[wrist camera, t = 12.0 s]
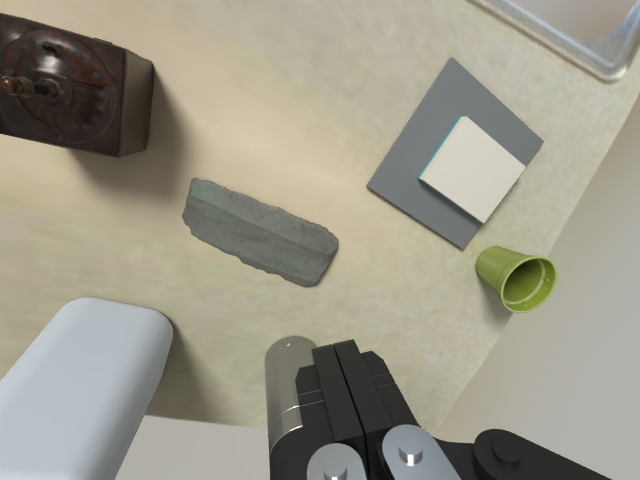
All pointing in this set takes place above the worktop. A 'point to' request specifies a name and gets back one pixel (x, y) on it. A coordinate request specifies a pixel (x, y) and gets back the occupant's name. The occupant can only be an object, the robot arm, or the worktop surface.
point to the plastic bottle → (81, 391)
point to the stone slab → (258, 233)
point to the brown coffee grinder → (72, 89)
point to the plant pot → (517, 277)
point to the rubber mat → (427, 134)
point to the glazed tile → (471, 169)
